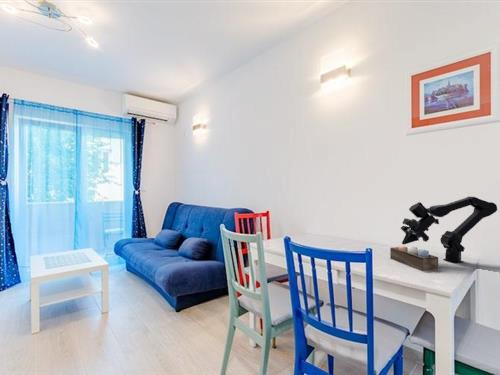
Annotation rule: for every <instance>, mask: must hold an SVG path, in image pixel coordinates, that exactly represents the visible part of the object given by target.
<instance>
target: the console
mask: <svg viewBox="0 0 500 375" xmlns="http://www.w3.org/2000/svg"><path fill="white" fill-rule="evenodd" d="M389 253H390V255H389V256H390V257H389V258H390V259H391V260H394V261H397V262H398V263H400V264H404V265H406V266H408V267H412V268H414V269H416V270H419V271H439V256H436V255H432V254H429V257H421V256H418V253H413V254H412V253H409V252H408V247H407V250H399V249H398V246H397V247H390V252H389Z"/></svg>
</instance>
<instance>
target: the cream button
mask: <svg viewBox="0 0 500 375" xmlns="http://www.w3.org/2000/svg"><path fill="white" fill-rule="evenodd" d="M407 248H408V252H409V253H412V254H413V253H418V250H419V248H418V247H416V246H407Z"/></svg>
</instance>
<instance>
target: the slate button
mask: <svg viewBox="0 0 500 375" xmlns="http://www.w3.org/2000/svg"><path fill="white" fill-rule="evenodd" d="M429 252H430V251H429V250H426V249H418V256H421V257H429V255H430V253H429Z"/></svg>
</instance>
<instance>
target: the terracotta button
mask: <svg viewBox="0 0 500 375" xmlns="http://www.w3.org/2000/svg"><path fill="white" fill-rule="evenodd" d="M397 247H398V249H399V250H407V248H408V246H403V245H402V246H401V245H400V246H397Z"/></svg>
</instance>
